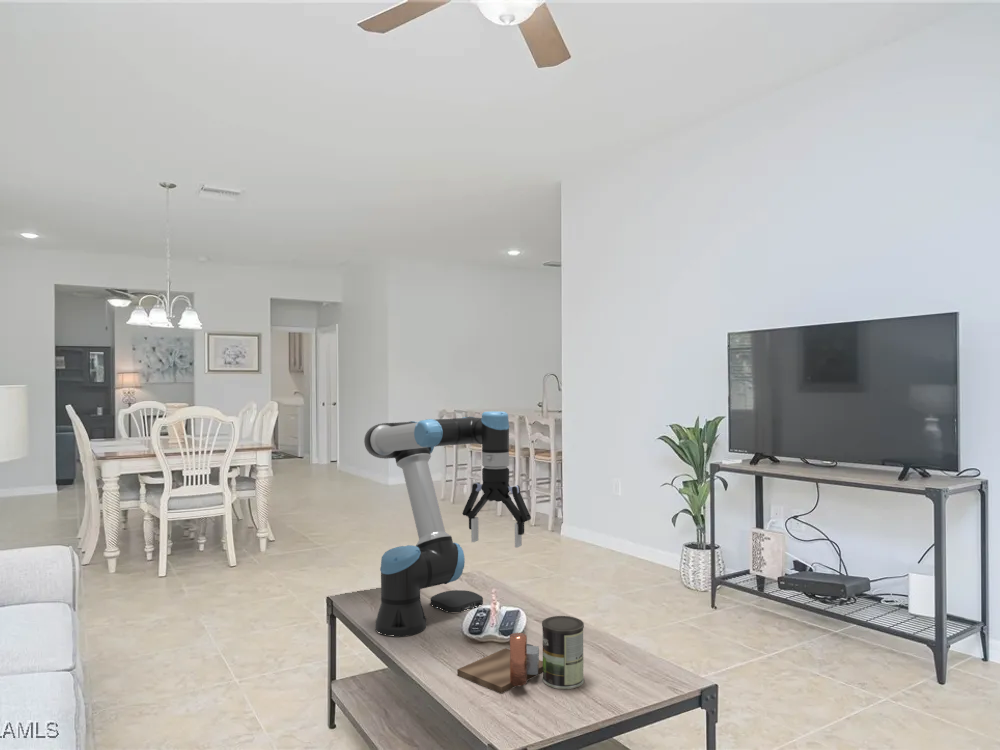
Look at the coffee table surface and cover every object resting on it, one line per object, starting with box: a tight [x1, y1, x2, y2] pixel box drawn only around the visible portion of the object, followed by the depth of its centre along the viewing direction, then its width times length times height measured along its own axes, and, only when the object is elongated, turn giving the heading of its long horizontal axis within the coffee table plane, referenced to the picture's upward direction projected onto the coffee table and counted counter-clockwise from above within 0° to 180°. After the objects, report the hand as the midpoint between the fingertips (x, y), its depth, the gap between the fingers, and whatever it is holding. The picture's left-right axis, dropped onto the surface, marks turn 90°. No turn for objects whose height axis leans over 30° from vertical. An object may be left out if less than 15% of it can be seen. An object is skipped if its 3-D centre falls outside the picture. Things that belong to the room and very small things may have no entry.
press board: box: [456, 647, 543, 694], centre depth 171 cm, size 15×18×2 cm
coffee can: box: [541, 615, 585, 690], centre depth 166 cm, size 10×10×14 cm
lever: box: [509, 632, 540, 687], centre depth 167 cm, size 18×7×11 cm, turn 173°
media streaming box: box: [430, 589, 484, 613], centre depth 224 cm, size 15×15×3 cm
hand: (496, 543), depth 187 cm, fingers open, 13 cm apart
